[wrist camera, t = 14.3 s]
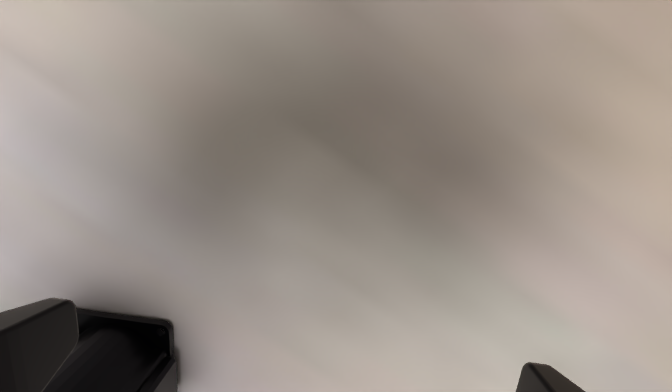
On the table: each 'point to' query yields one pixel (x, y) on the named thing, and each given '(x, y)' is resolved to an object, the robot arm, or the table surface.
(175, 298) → the table surface
